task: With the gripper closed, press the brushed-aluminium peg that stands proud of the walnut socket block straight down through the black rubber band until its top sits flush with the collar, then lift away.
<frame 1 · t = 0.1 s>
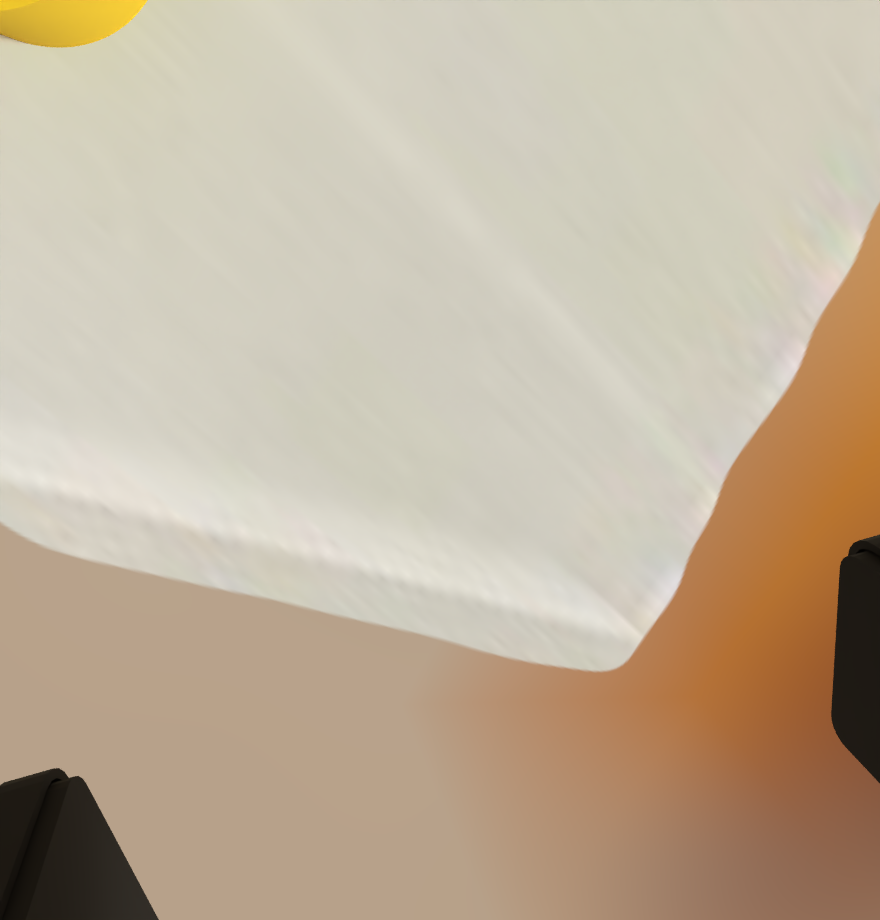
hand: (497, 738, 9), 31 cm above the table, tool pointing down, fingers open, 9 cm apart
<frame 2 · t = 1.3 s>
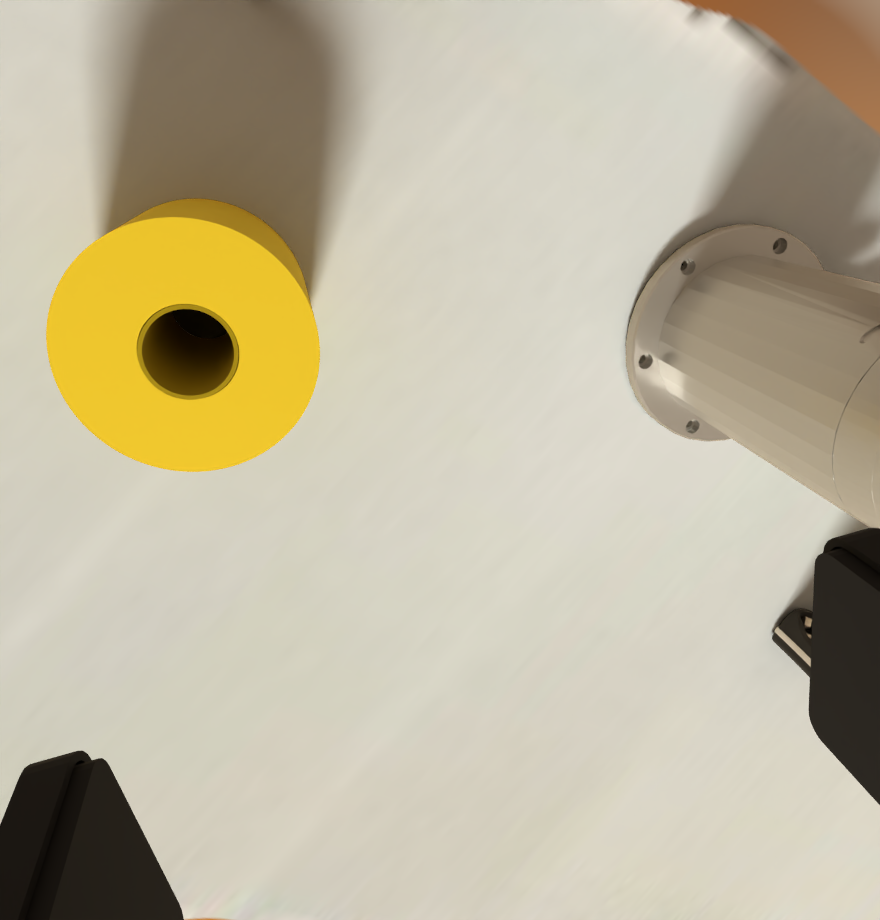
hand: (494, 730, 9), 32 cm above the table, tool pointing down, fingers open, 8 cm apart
battery charger: (811, 625, 55), on the table
tape roll: (206, 303, 37), on the table
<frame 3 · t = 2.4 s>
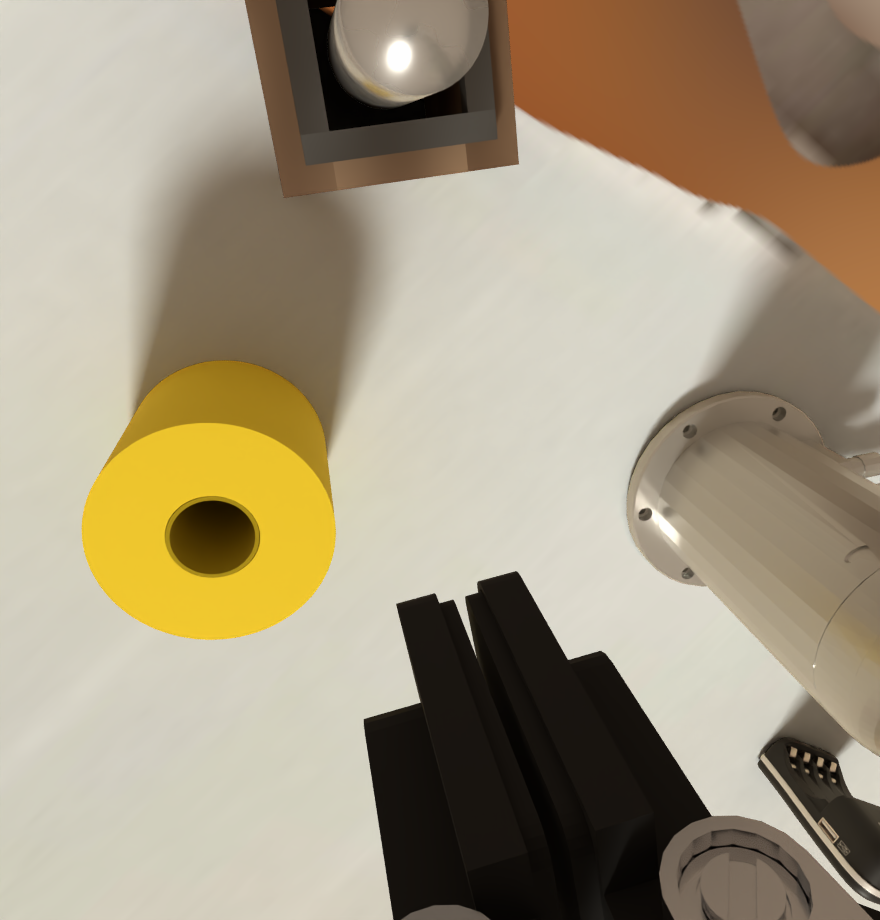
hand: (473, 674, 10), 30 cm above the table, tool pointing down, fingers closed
battery charger: (797, 752, 56), on the table
tape roll: (230, 451, 39), on the table
peg: (396, 33, 24), point 11 cm above the table, slide at 0.0 cm
socket block: (364, 68, 34), on the table
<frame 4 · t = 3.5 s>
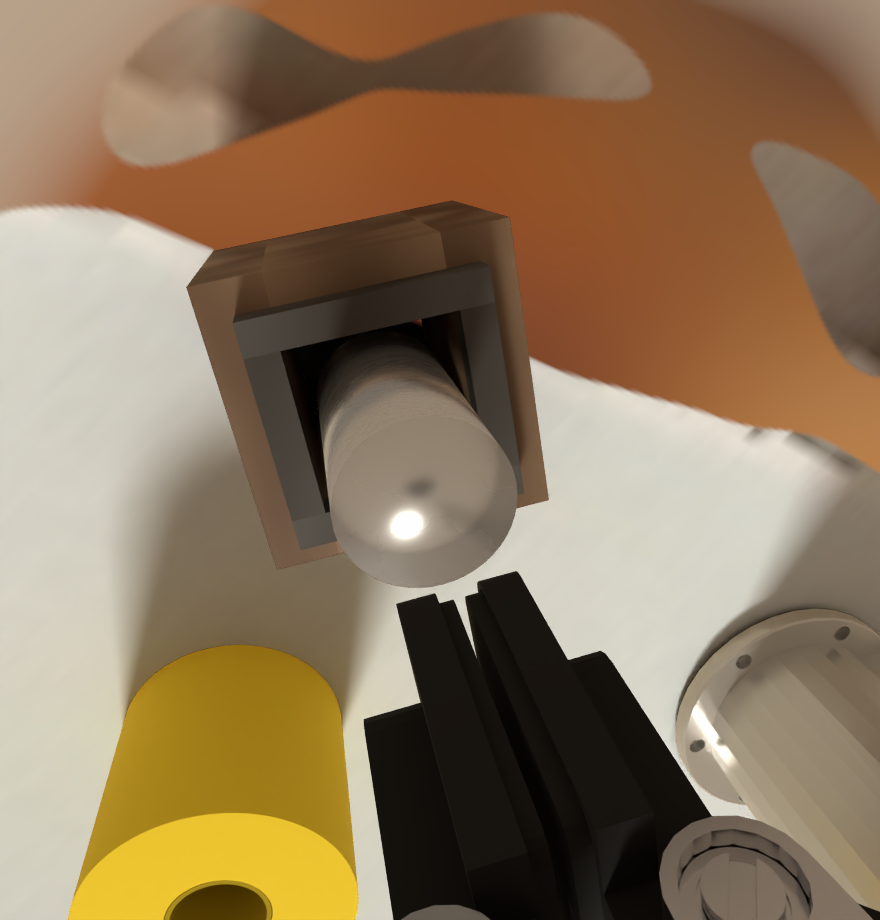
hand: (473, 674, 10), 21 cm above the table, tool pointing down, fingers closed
tape roll: (235, 730, 36), on the table
peg: (400, 439, 19), point 11 cm above the table, slide at 0.0 cm
socket block: (361, 342, 29), on the table
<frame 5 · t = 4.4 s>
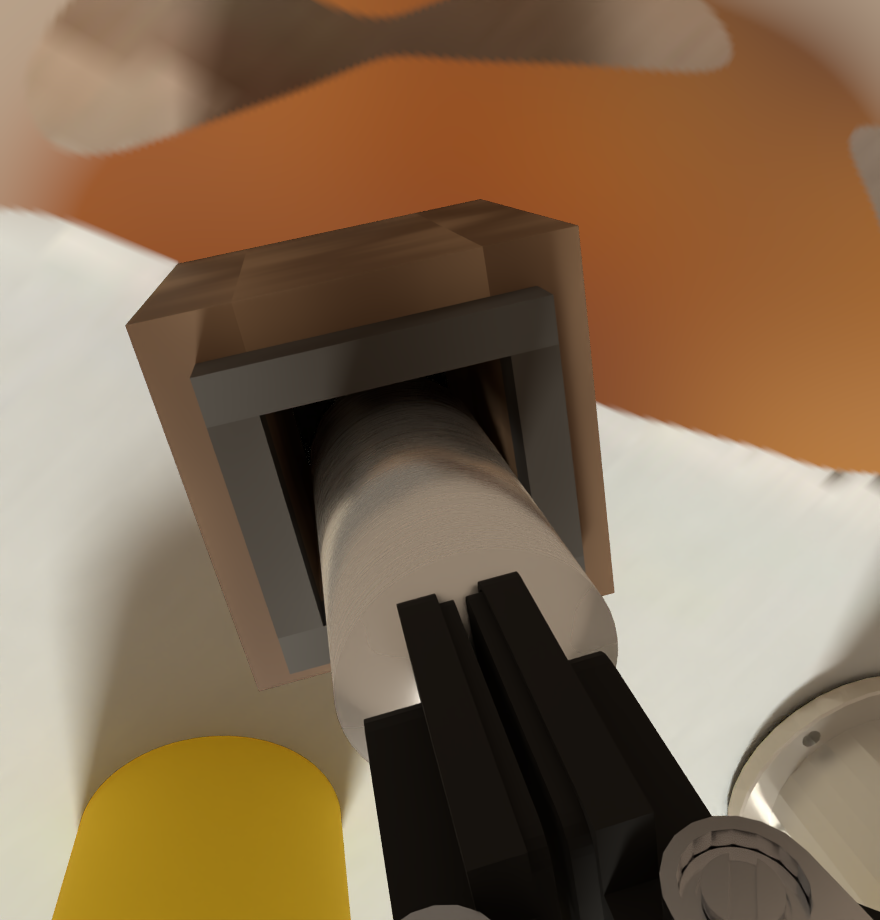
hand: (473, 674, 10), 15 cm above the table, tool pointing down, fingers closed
tape roll: (214, 830, 30), on the table
peg: (427, 538, 14), point 11 cm above the table, slide at 0.2 cm, touching gripper
socket block: (366, 376, 24), on the table
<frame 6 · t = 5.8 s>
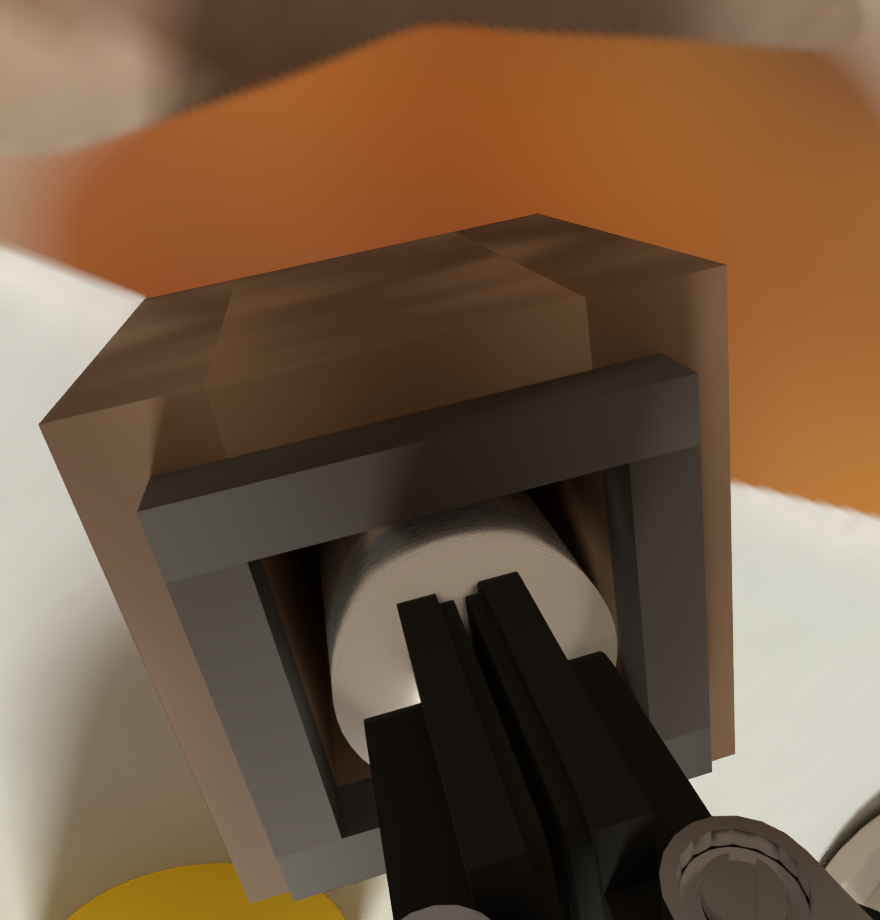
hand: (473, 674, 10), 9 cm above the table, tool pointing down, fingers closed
peg: (426, 538, 14), point 5 cm above the table, slide at 5.7 cm, touching gripper
socket block: (388, 436, 19), on the table
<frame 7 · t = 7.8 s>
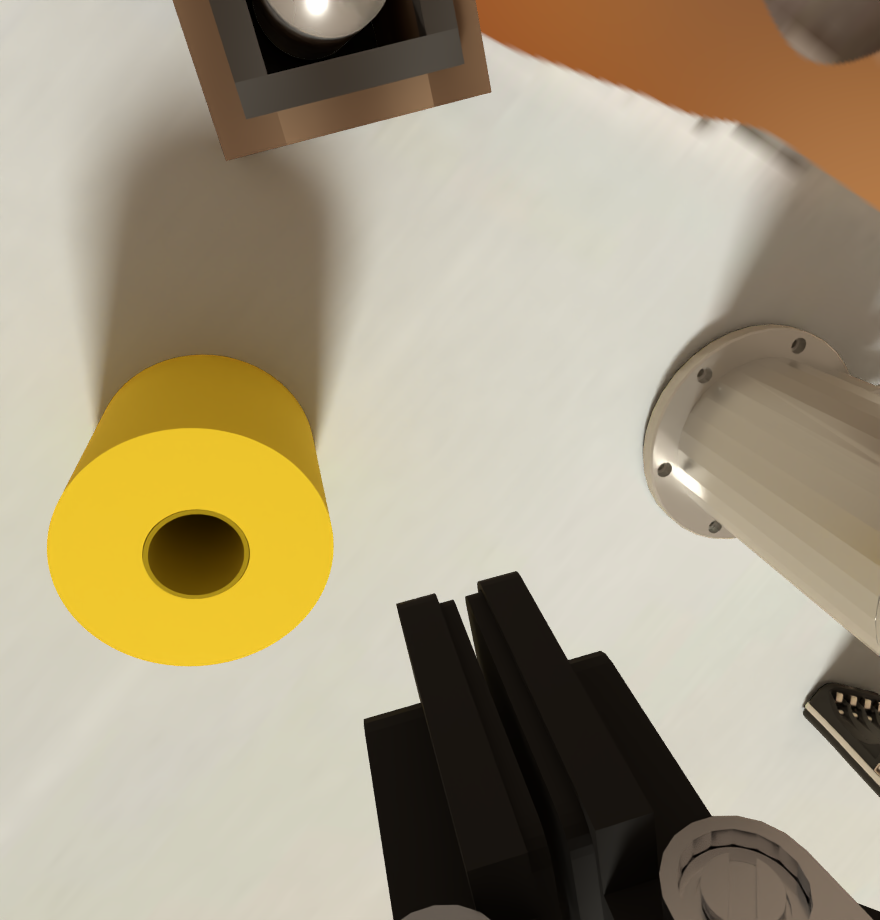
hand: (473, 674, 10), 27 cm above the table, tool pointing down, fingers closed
battery charger: (842, 696, 54), on the table
tape roll: (209, 454, 36), on the table
socket block: (303, 5, 29), on the table
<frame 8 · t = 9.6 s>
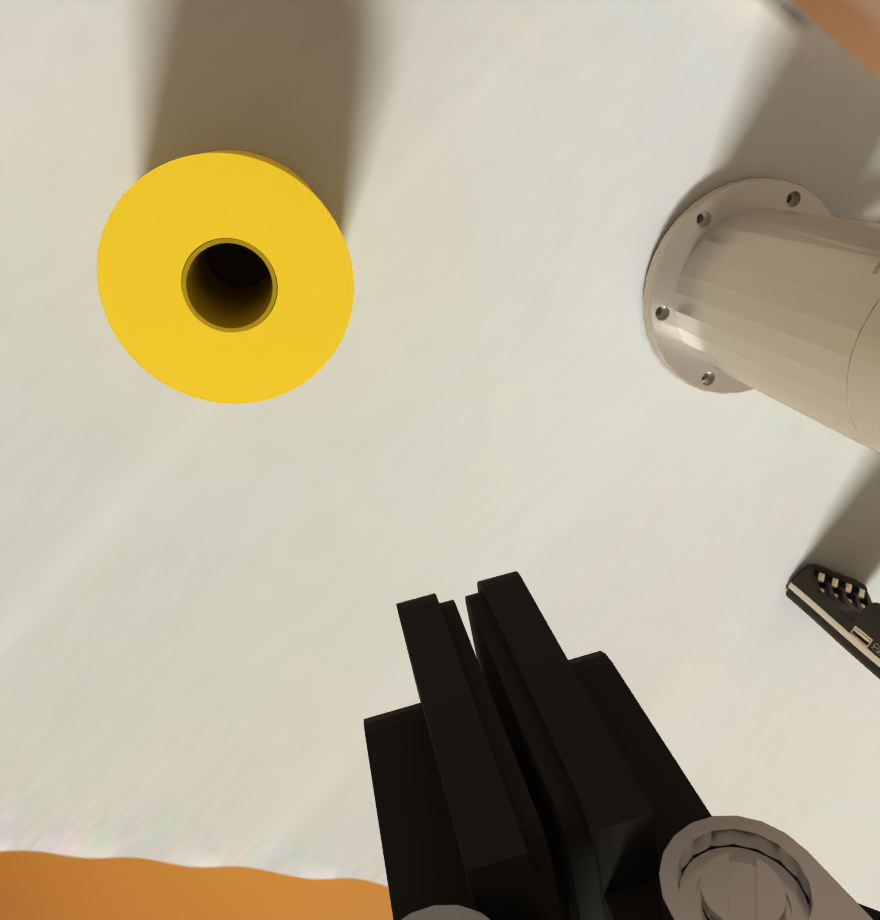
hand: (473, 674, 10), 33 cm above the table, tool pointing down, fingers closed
battery charger: (824, 582, 56), on the table
tape roll: (240, 253, 39), on the table
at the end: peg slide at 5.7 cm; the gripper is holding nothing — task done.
